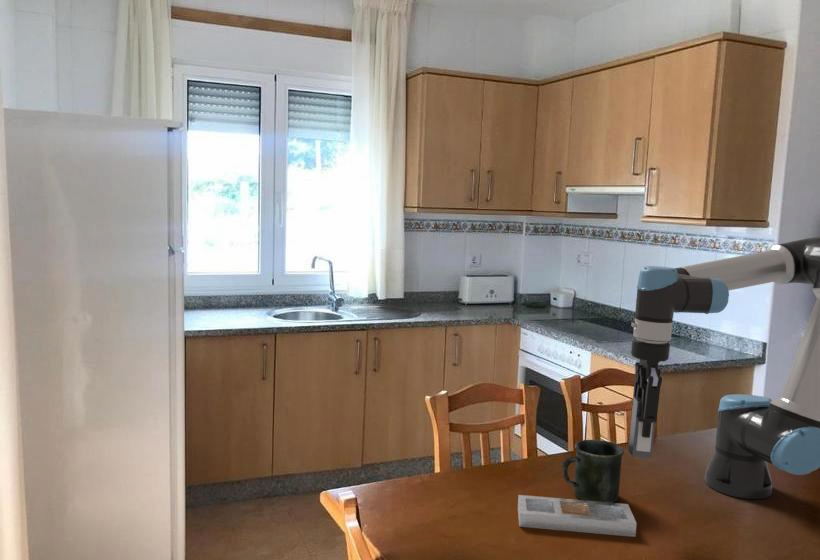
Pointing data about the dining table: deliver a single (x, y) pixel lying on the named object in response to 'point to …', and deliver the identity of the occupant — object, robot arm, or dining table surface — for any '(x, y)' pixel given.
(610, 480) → the mug
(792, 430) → the robot arm
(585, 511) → the white peg holder tray
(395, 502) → the dining table surface
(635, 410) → the steel peg
